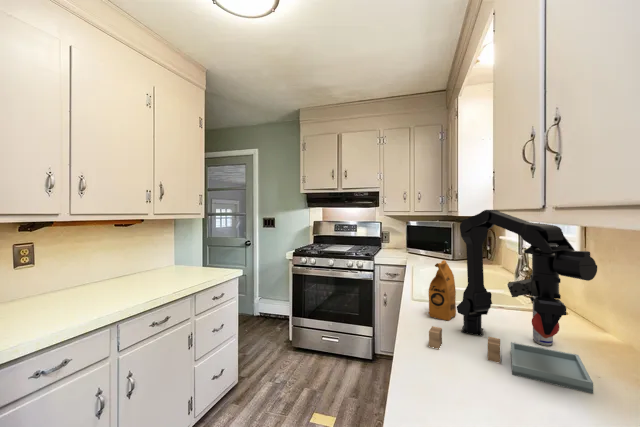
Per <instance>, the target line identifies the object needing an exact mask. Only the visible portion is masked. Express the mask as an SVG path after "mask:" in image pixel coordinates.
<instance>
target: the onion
mask: <svg viewBox="0 0 640 427" xmlns="http://www.w3.org/2000/svg"><path fill="white" fill-rule="evenodd" d="M531 325H532V328H533V327H534V329H535V330H536V331H537V332H538V333H539V334H540V335H541V336H542V337H543V338H549V337H552V336H553V337H554V336H556V334H558V333H559V331H560V323H559V322H558V323H557V324H556V326H555V327H554V329H553V331H552V332H551V334H550V335H545V334H544V330H543V326H542V321H541V317H540V315H539V314H538V313H536V314H535V315H534V316H533V315H532V318H531Z"/></svg>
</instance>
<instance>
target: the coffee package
mask: <svg viewBox="0 0 640 427" xmlns="http://www.w3.org/2000/svg"><path fill="white" fill-rule="evenodd" d="M434 267H435V268H437V269H438V270H436V274H435V276H434V277H433V278H432V279H431V282H430V284H429V287H428V314H429V317H431V318H435V319H437V318H438V319H439V320H443V321H449V322H450V320H451V319H452V318H456V315H457V304H456V302H457V300H456V296H457V295H456V294H457V291H456V290H457V289H456V283H455V275H454V273H453V271H452V269H451V268H450V266H449V264H448V263H447V260H446V259H442V260H441V262H438V263H437V262H436V263H435V264H434Z"/></svg>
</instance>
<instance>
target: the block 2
mask: <svg viewBox="0 0 640 427" xmlns="http://www.w3.org/2000/svg"><path fill="white" fill-rule="evenodd" d="M487 361H488V362H489V361H490V362H492V363H493V362H494V363H499V364H501V338H500V337H499V338H498V337H492V336H488V338H487Z"/></svg>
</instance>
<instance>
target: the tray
mask: <svg viewBox="0 0 640 427" xmlns="http://www.w3.org/2000/svg"><path fill="white" fill-rule="evenodd" d="M510 357H511V358H510V359H511V372H512V373H511V374H512V375H513V376H515V377H516V376H518V377H520V378H524V379H530V380H533V381H537V382H542V383H546V384H550V385H553V386H559V387H564V388H567V389H571V390H575V391H579V392H584V393H588V394H594V382H593V380H592V378H591V376H590V374H589V372H588V370H587V369H586V367H585V364H584V363H583V361H582V360H581V357H580V355H579V354H575V353H569V352H565V351H560V350H559V351H558V350H554V349H549V348H544V347H537V346H533V345H527V344H522V343H517V342H512V341H511V342H510Z"/></svg>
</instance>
